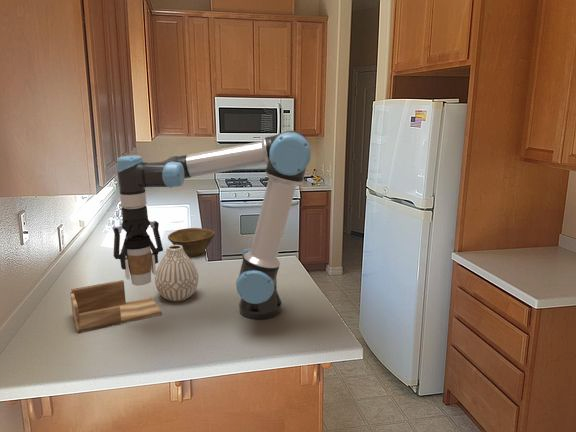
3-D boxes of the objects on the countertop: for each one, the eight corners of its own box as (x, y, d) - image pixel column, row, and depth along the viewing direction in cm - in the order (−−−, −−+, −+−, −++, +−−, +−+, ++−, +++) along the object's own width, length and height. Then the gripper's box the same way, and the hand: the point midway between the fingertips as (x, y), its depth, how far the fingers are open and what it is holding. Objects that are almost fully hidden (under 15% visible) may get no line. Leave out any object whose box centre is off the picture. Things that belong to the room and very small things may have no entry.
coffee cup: (160, 281, 150) (156, 236, 146) (136, 289, 144) (131, 243, 140) (146, 275, 155) (141, 232, 152) (122, 282, 149) (117, 238, 146)
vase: (154, 307, 168) (150, 254, 163) (157, 290, 183) (154, 241, 178) (199, 303, 171) (197, 252, 166) (199, 287, 186) (196, 239, 181)
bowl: (160, 252, 228) (159, 233, 226) (201, 243, 243) (200, 225, 241) (182, 264, 212) (181, 243, 210) (224, 253, 227) (223, 233, 225)
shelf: (161, 314, 162) (159, 287, 160) (77, 333, 149) (74, 304, 147) (151, 300, 174) (149, 275, 171) (72, 316, 161) (69, 289, 158)
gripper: (163, 200, 152) (169, 266, 157) (97, 208, 142) (105, 278, 147) (170, 204, 145) (175, 273, 151) (101, 212, 135) (109, 286, 141)
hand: (141, 275), depth 149 cm, fingers closed on coffee cup, 7 cm apart
